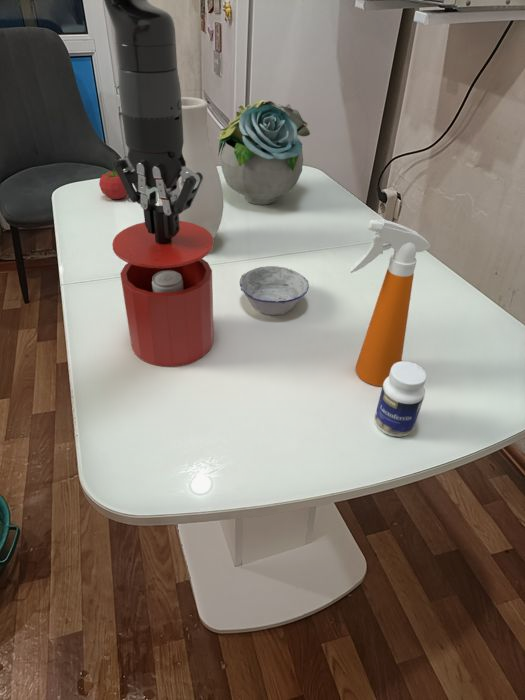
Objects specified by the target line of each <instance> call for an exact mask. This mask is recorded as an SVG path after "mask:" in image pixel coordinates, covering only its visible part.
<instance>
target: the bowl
mask: <svg viewBox="0 0 525 700" xmlns="http://www.w3.org/2000/svg"><path fill="white" fill-rule="evenodd" d="M239 287H240V291H241V292H243V294H244V295H245V297H246V298H247V300H248V302H249V303H250V305H251V306H252V307H253V308H254V310H255V311H257V312H259V313H261V314H264V315H268V316H279V315H280V316H281V315H285V314H287V313H289V312H291V310H292V309H294V307H295V306H296V305H297V303H299V301H300V300H301V299H302V298H304V296H305V295H306V294H307V293H308V291H309V288H310V284H309V280H308V279H307V278H306V277H305V276H304V275H302V274H301V273H299V272H297V271H295V270H293V269H292V268H291V269H290V268H287V267H283V266H274V265H268V266H260V267H255V268H253V269H250V270H249V271H247V272H246V273H243V274H242V275H241V276H240V279H239Z"/></svg>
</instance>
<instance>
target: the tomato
mask: <svg viewBox="0 0 525 700" xmlns="http://www.w3.org/2000/svg"><path fill="white" fill-rule="evenodd" d="M98 183H99V184H98V186H99V188H100V191H101V193H102V194H103V195H104V196H106V197H107V198H108V199H111V200H112V199H113V200H119V199H120V200H121V199H123V198H126V197H127V196H128V194H127V192H126V190H125V188H124V186H123V184H122V182H121V180H120V178H119V176H118V174H117V172H116V170H115V168H113V169H112V171H108V172H104V173H102V174H101V176H100V178H99V182H98Z"/></svg>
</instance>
